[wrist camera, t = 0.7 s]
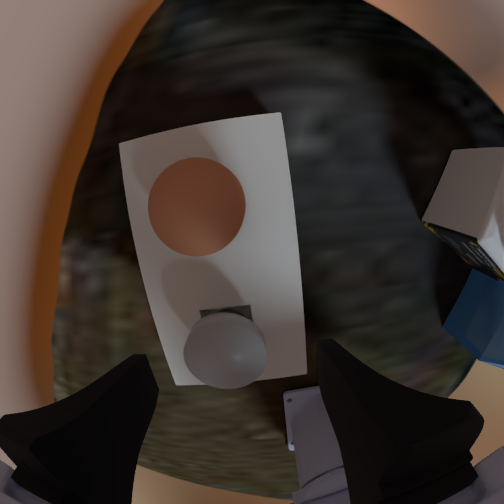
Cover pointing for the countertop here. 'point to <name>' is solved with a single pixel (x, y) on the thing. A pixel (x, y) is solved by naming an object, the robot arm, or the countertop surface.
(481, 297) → the perfume bottle
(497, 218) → the medicine bottle
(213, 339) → the grey button
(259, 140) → the panel
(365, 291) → the countertop surface
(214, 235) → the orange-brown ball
